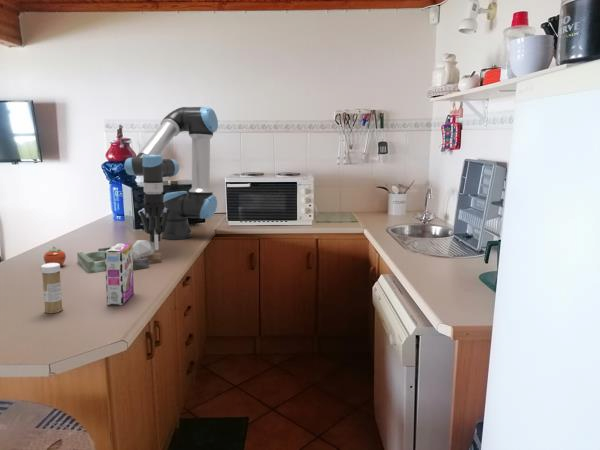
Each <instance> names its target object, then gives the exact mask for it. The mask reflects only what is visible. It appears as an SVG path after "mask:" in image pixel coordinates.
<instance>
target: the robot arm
mask: <svg viewBox="0 0 600 450" xmlns="http://www.w3.org/2000/svg"><path fill="white" fill-rule="evenodd" d="M218 128H219V120H218V117H217V114H216V112H215V110H214V109H213V108H211V107H207V106H182V107H178V108H176V109H174V110H172V111H170V112H169V113H168V114H167V115H166V116H164V117H163V119H162V120H161V121H160V126H159V128H158V129H157V130H156V131H155V133H154V134H153V135H152V136H151V138H149V140H148V141H147V142H146V143H145V145H144V146H143V147H142V148H141V150H140V151H139V152H138V153H137V155H136V156H135V157H127V158H126V159H125V161H124V164H123V165H124V166H123V168H124V170H125V172H126V174H127V175H129V176H135V177H137V176H138V177H143V193H144V194H143V202H144V203H143V204H144V205H143V207H142V209H140V210H137V213H138V215H139V216H140V219H141V222H142V226H143V230H144V232H145V233H146V234H148V235H149V239H150V242H151V244H152V247H153V249H154V251H159V250H160V249H159V242H161V238H162V239H165V240H185V239H190V238H192V236H193V235H192V229H191V227H190V224H189V219H188V218H191V219H192V218H193V219H200V220H201V219H202V220H204V219H211V218H212V217H213V216H214V215H215V213H216V211H217V207H218V199H217V197H216V196H215V195H214V194H213V190H212V189H211V188H210V187H211V186H210V183H211V182H210V176H211V175H210V174H211V173H210V171H211V170H210V169H211V168H210V167H211V166H210V165H211V163H210V160H211V156H210V155H211V153H210V152H211V139H212V138H213V137H214V133H215V132H217V131H218ZM183 132H188V136H189V137H190V138H191V188H189V190H188V191H187V190H181V191H172V192H165V194H163V192H164V181H163V180H164V178H166V177H169V178H172V177H174V176H176V175H177V174H178V173H179V170H180V166H179V165H180V164H179V163H178V161H176V160H175V159H173V158H163V156H162V155H161V154H162V153H163V152H164V150H165V149H166V147H168V145H169V144H170V143H171V141H172V140H173V138H174V137H177V136H178V135H179V134H180V133H183ZM146 214H147V215H148V220H147V216H146ZM161 214H162V217H161Z"/></svg>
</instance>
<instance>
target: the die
mask: <svg viewBox="0 0 600 450" xmlns="http://www.w3.org/2000/svg"><path fill="white" fill-rule="evenodd" d="M132 248H133V259H134V260H139V259H140V256H144V255H151V254H155V253H154V252H155V250H154V249H153V244H152V242H151V241H150V240H145V239H141V240H140V239H137V240H136V241H135V242H134V243H133V244H132Z"/></svg>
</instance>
